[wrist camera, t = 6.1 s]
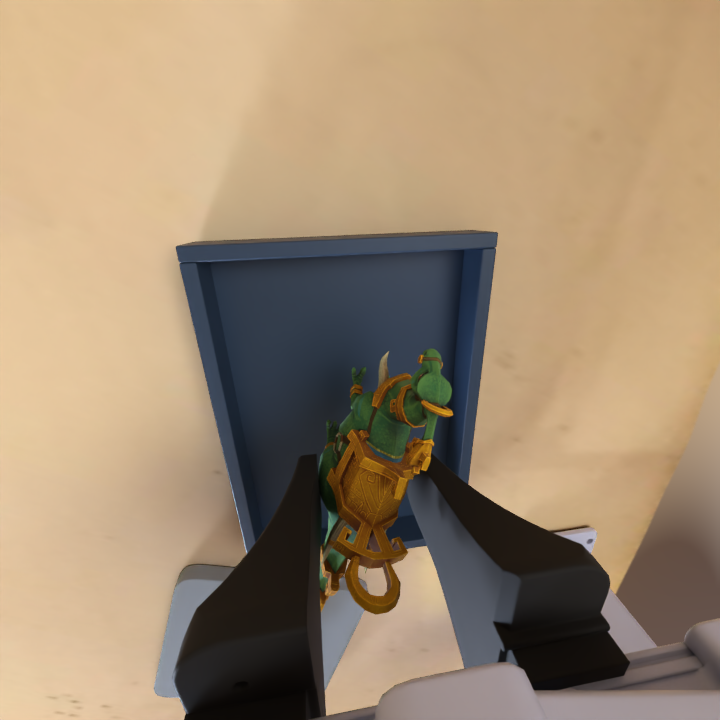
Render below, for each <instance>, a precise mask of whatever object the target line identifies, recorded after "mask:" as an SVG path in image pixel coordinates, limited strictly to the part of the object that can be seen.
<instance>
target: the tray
mask: <svg viewBox="0 0 720 720" xmlns="http://www.w3.org/2000/svg"><path fill="white" fill-rule="evenodd" d="M497 237H498V233H497V232H488V231H476V230H464V231H440V232H416V233H392V234H368V235H344V236H320V237H296V238H272V239H248V240H224V241H200V242H192V243H188V244H183V245H179V246H176V251H177V255H178V260H179V262H180V269H181V274H182V278H183V282H184V286H185V291H186V295H187V299H188V304H189V308H190V312H191V317H192V321H193V325H194V329H195V334H196V338H197V342H198V347H199V351H200V355H201V359H202V364H203V368H204V372H205V377H206V381H207V385H208V390H209V394H210V398H211V402H212V407H213V411H214V415H215V420H216V424H217V428H218V433H219V437H220V441H221V445H222V450H223V454H224V458H225V463H226V467H227V471H228V475H229V480H230V484H231V488H232V493H233V497H234V501H235V506H236V510H237V514H238V518H239V523H240V527H241V531H242V536H243V540H244V544H245V549H246V553H248V552H249V551H250V549H251V548H252V547H253V545H254V544H255V542H256V541H257V540H258V538H259V537H260V536H261V534H262V533H263V531H264V530H265V528H266V526H267V525H268V523H269V522H270V520H271V518H272V517H273V515H274V513H275V512H276V510H277V508H278V506H279V504H280V502H281V500H282V499H283V497H284V495H285V493H286V490H287V488H288V486H289V484H290V482H291V479H292V477H293V474H294V472H295V469H296V466H297V462H298V458H299V457H300V456H302V455H310V454H317V464H318V473H319V465H320V456H321V454H322V453H323V451H324V450H325V446H326V445H327V425H326V424H327V420H330V421H331V424H330V428H331V427H332V424H333V422H334V421H337V427H336V429H337V428H338V427H339V425H340V424H341V423H342V422H343V421H344V420H345V419H346V417H347V416H348V415H349V414H350V413H351V411H352V410H351V399H350V394H351V392H350V389H351V387H352V386H353V379H352V368H353V367H354V368H355V369H356V375H358V374H359V373H360V370H361V369H362V368H363V367H366V372H365V375H364V376H363V379H362V382H361V386H362V387H363V390H362V393H363V394H364V393H366V392H369V391H372V392H375V391H376V390H377V388H378V382H379V365H380V361H381V359H382V357H383V356H384V355H385V354H386V353H387V352H388V351H389V353H388V357H387V367H388V373H389V376H390V378H392V377H394V376H397V375H400V374H403V373H408V374H409V375H410V376H411V377H412V376H413V375H414V374H415V373H416V372H417V371H418V370H419V369H420V368H421V367H422V363H421V364H419V363H418V358H419V356H420V355H422V354H423V352H424V351H425V350H428V349H435V350H437V351H438V353H439V354H440V356H441V361H442V363H443V366H442V368H441V369H440V371H441V375H442V376H443V377H444V378H445V379H446V380H447V381H448V382H449V383H450V386H451V388H452V394H451V397H450V400H449V401H448V402H447V403H446V405H445V407H447V408H449V409H451V410H452V412H453V415H452V416H450V417H443V416H440V415H438V418H437V421H436V426H435V431H434V436H433V442H434V446H432V451H431V453H432V454H433V455H434V456H435V457H437V458H438V459H439V460H440V461H441V462H442V463H443V464H444V465H445V466H446V467H448V468H449V469H450V470H451V471H452V472H453V473H455V474H456V475H457V476H458V477H459V478H461V479H462V480H463V481H464V482H466V483H467V484H468V480H469V472H470V463H471V455H472V446H473V438H474V430H475V421H476V413H477V404H478V396H479V388H480V379H481V371H482V363H483V354H484V346H485V337H486V329H487V321H488V312H489V304H490V295H491V287H492V279H493V270H494V262H495V253H496V249H495V247H496V245H497ZM426 426H427V423H426V424H425V426H424V427H415V428H413V427H412V430H411V432H410V437H409V441H408V442H409V443H411V442H412V440H413V438H414V437H415V438H419V439H422V437H423V435H424V432H425V429H426ZM321 510H322V531H321V545H322V544H324V542H325V539H326V535H327V531H328V520H329V513H328V511H327V509H326V507H325V505H324V503H323V501H322V498H321ZM385 534H386V536H387V538H388V540H389V542H391V541H392V539H394V538H397V537H400V539H401V540H402V542H403V544H404V546H405V548H406V549H408V548H415V547H421V546H427V544H426V542H425V540H424V537H423V535H422V532H421V530H420V527H419V525H418V523H417V520H416V518H415V515H414V513H413V510H412V508H411V505H410V501H409V498H408V494H407V491H406V493H405V496H404V498H403V500H402V502H401V504H400V506H399V508H398V517H397V519H396V521H395V522H394V524H393V525H392V526H391V527H389V528H388V529H387V530H386V533H385ZM368 544H369V543H368ZM368 544H367V547H368ZM367 547H366V549H367Z"/></svg>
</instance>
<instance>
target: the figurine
mask: <svg viewBox="0 0 720 720" xmlns="http://www.w3.org/2000/svg"><path fill="white" fill-rule="evenodd" d="M388 353H389V351H388V352H387V353H386V354H385V355H384V356H383V357H382V359H381V361H380V365H379V382H378V388H377V390H376V391H375V392H372V391H369V392H366V393H364V394H363V393H362V390H363V387H362V386H361V382H362V379H363V376H364V375H365V372H366V367H363V368H362V369H361V370H360V373H359V374H358V375H356V369H355V368H354V367H353V368H352V379H353V386H352V387H351V389H350V392H351V394H350V399H351V410H352V411H351V413H350V414H349V415H348V416H347V417H346V419H345V420H344V421H343V422H342V423H341V424H340V425H339V427H338V428H337V429H336V427H337V421H334V422H333V424H332V427H331V428H330V424H331V421H330V420H327V424H326V425H327V445H326V446H325V450H324V451H323V453H322V454H321V456H320V465H319V489H320V495H321V498H322V501H323V503H324V505H325V507H326V509H327V511H328V513H329V520H328V531H327V535H326V539H325V542H324V544H322V545H321V556H320V607H321V611H322V610H323V607H324V605H325V602H326V600H328V598H329V596H333V595H335V594H336V593H337V592H338V590H339V588H340V584H339V579H340V578H341V577H342V576H343V575H344V574H345V579H346V584H347V588H348V590H349V592H350V594H351V596H352V598H353V600H354V601H355V602H356V603H357V604H358V605H360V606H361V607H362V608H363V609H364V610H366V611H368V612H371V613H374V614H381V613H387V612H389V611H390V610H391V609H393V608H394V607H395V606H396V604H397V602H398V599H399V596H400V581H399V579H398V577H397V575H396V574H395V572H394V570H393V568H392V566H391V565H392V564H394V563H396V562H398V561H401V560H403V559H404V557H405V556H406V555H407V554H408V551H407V549H406V548H405V546H404V544H403V542H402V540H401V539H400V537H397V538H394V539H392V541H391V542H389V540H388V538H387V536H386V534H385V533H386V530H387V529H388V528H389V527H391V526H392V525H393V524H394V522H395V521H396V519H397V517H398V508H399V506H400V504H401V502H402V500H403V498H404V496H405V493H406V490H407V486H408V483H409V479H413V477H414V475H417V474H419V470H420V469H421V470H424V471H426V470H427V468H428V466H429V464H430V460H431V451H432V446H434V442H433V436H434V431H435V426H436V421H437V418H438V415H440V416H443V417H450V416H452V415H453V412H452V410H451V409H449V408H447V407H445V405H446V403H447V402H448V401H449V400H450V397H451V394H452V388H451V386H450V383H449V382H448V381H447V380H446V379H445V378H444V377H443V376H442V375H441V371H440V369H441V368H442V366H443V363H442V361H441V356H440V354H439V353H438V351H437V350H435V349H428V350H425V351H424V352H423V354H422V355H420V356H419V358H418V363H419V364H421V363H422V367H421V368H420V369H419V370H418V371H417V372H416V373H415V374H414V375H413V376H412V377H411V376H410V375H409V374H408V373H403V374H400V375H397V376H394V377H392V378H390V376H389V373H388V367H387V357H388ZM426 423H427V426H426V429H425V432H424V435H423V437H422V439H419V438H415V437H414V438H413V440H412V442H411V443H409V442H408V441H409V437H410V432H411V430H412V427H413V428H415V427H424V426H425V424H426ZM368 543H369V544H368ZM367 544H368V547H367ZM366 547H367V549H366ZM347 559H349V560H351V561H350V563H349V565H348V568H347V570H346V565H347ZM359 565H361V566H364V567H365V573H366V570H367V568H369V569H370V568H381V567H383V569H384V573H385V577H386V581H387V592H386V593H385V595H384V596H373V595H370V594H369V593H368V592H367V591H366V590H365V589H364V588H363V587H362V585H361V584H360V582H359V579H358V567H359ZM345 570H346V572H345Z"/></svg>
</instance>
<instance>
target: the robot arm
mask: <svg viewBox="0 0 720 720" xmlns="http://www.w3.org/2000/svg"><path fill="white" fill-rule="evenodd" d="M406 491H407V494H408V498H409V501H410V505H411V508H412V510H413V513H414V515H415V518H416V520H417V523H418V525H419V527H420V530H421V532H422V535H423V537H424V540H425V542H426V544H427V547H428V549H429V552H430V554H431V556H432V559H433V562H434V565H435V567H436V570H437V573H438V577H439V580H440V583H441V586H442V590H443V593H444V596H445V600H446V603H447V607H448V610H449V613H450V617H451V620H452V624H453V627H454V631H455V635H456V638H457V642H458V645H459V649H460V653H461V656H462V660H463V664H464V668H465V669H460V670H455V671H450V672H445V673H440V674H435V675H430V676H425V677H420V678H415V679H411V680H408V681H406V682H403V683H400V684H397V685H395V686H393V687H392V688H391V689H389V690H388V691H387V692H386V693H384V694H383V695H382V697H381V699H380V701H379V703H378V705H377V706H372V707H367V708H362V709H357V710H353V711H348V712H343V713H338V714H333V715H329V716H326V708H325V689H324V670H323V650H322V629H321V607H320V556H321V531H322V510H321V495H320V489H319V473H318V464H317V454H310V455H302V456H300V457H299V458H298V462H297V466H296V469H295V472H294V474H293V477H292V479H291V482H290V484H289V486H288V488H287V490H286V493H285V495H284V497H283V499H282V500H281V502H280V504H279V506H278V508H277V510H276V512H275V513H274V515H273V517H272V518H271V520H270V522H269V523H268V525H267V526H266V528H265V530H264V531H263V533H262V534H261V536H260V537H259V538H258V540H257V541H256V542H255V544H254V545H253V547H252V548H251V549H250V551H249V552H248V553H247V554H246V556H245V557H244V558H243V559H242V561H241V562H240V563H239V564H238V565H237V566H236V568H235V569H234V570H233V571H232V572H231V573H230V574H229V576H228V577H227V578H226V579H225V580H224V581H223V582H222V583H221V584H220V585H219V586H218V587H217V588H216V589H215V590H214V591H213V592H212V593H211V594H210V595H209V596H208V597H207V598H206V599H205V600H204V601H203V602H202V603H201V604H200V605H199V606H198V607H197V608H196V610H195V612H194V615H193V617H192V619H191V621H190V623H189V626H188V628H187V631H186V633H185V636H184V638H183V641H182V644H181V647H180V651H179V654H178V658H177V661H176V665H175V669H174V672H173V676H172V679H173V684H174V687H175V690H176V692H177V694H178V696H179V698H180V701H181V703H182V705H183V707H184V709H185V712H186V715H185V719H184V720H720V618H719V619H714V620H709V621H704V622H700V623H697V624H695V625H694V626H692V627H691V628H690V629H689V630H688V632H687V633H686V635H685V638H684V642H680V643H675V644H670V645H666V646H661V647H657V645H656V644H655V643H654V642H653V641H652V639H651V638H650V637H649V636H648V634H647V633H646V632H645V631H644V630H643V628H642V627H641V626H640V625H639V623H638V622H637V621H636V620H635V618H634V617H633V616H632V615H631V614H630V612H629V611H628V610H627V609H626V607H625V606H624V605H623V604H622V603H621V601H620V600H619V599H618V598H617V596H616V595H615V594H614V593H613V591H612V590H611V589H610V588H609V587H610V579H609V575H608V574H607V573H606V572H605V570H604V569H603V568H602V567H601V565H600V564H599V563H598V562H597V561H596V559H595V558H594V557H593V556H592V555H591V552H592V549H593V546H594V543H595V540H596V537H597V532H596V531H595V530H594V529H593V528H592V527H588V528H582V529H575V530H569V531H562V532H556V533H552V532H550V531H547V530H545V529H543V528H541V527H539V526H537V525H535V524H532V523H530V522H528V521H526V520H524V519H522V518H520V517H519V516H517V515H515V514H513V513H511V512H510V511H508V510H506V509H504V508H502V507H501V506H499V505H497V504H496V503H494V502H493V501H491V500H490V499H488V498H487V497H485V496H484V495H482V494H480V493H479V492H478V491H476V490H475V489H473V488H472V487H471V486H469V485H468V484H467V483H466V482H464V481H463V480H462V479H461V478H459V477H458V476H457V475H456V474H455V473H453V472H452V471H451V470H450V469H449V468H448V467H446V466H445V465H444V464H443V463H442V462H441V461H440V460H439V459H438V458H437V457H435V456H434V455H433V454H432V453H431V460H430V464H429V466H428V468H427V470H426V471H424V470H421V469H420V470H419V474H417V475H414V477H413V479H409V483H408V486H407V490H406Z"/></svg>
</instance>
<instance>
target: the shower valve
mask: <svg viewBox="0 0 720 720" xmlns="http://www.w3.org/2000/svg"><path fill="white" fill-rule="evenodd" d="M234 569H235V568H234V567H223V566H212V565H191V566H188V567H186V568H184V569H183V570H182V572H181V573H180V575H179V578H178V581H177V584H176V587H175V589H174V594H173V599H172V604H171V608H170V613H169V618H168V623H167V628H166V633H165V637H164V642H163V647H162V652H161V657H160V662H159V666H158V671H157V676H156V681H155V686H154V691H155V693H156V694H157V695H158V696H161V697H169V698H179V696H178V694H177V692H176V690H175V687H174V684H173V679H172V676H173V672H174V669H175V665H176V661H177V658H178V654H179V651H180V647H181V644H182V641H183V638H184V636H185V633H186V631H187V628H188V626H189V623H190V621H191V619H192V617H193V615H194V612H195V610H196V608H197V607H198V606H199V605H200V604H201V603H202V602H203V601H204V600H205V599H206V598H207V597H208V596H209V595H210V594H211V593H212V592H213V591H214V590H215V589H216V588H217V587H218V586H219V585H220V584H221V583H222V582H223V581H224V580H225V579H226V578H227V577H228V576H229V574H230V573H231V572H232V571H233V570H234ZM359 582H360V584H361V585H362V587H363V588H364V589H365V590H366V591H367V585H366V583H365V582H364V581H363V580H361V579H359ZM339 584H340V588H339V590H338V592H337V593H336V594H335V595H333V596H329V598H328V600H326V602H325V605H324V607H323V610H322V611H321V629H322V650H323V670H324V689H326V688H327V686H328V683H329V681H330V679H331V677H332V675H333V673H334V671H335V669H336V667H337V665H338V663H339V661H340V659H341V657H342V655H343V653H344V651H345V649H346V647H347V645H348V643H349V641H350V639H351V637H352V635H353V633H354V631H355V629H356V626H357V624H358V622H359V620H360V618H361V616H362V614H363V612H364V609H363V608H362V607H361V606H360V605H358V604H357V603H356V602H355V601H354V600H353V598H352V596H351V594H350V592H349V590H348V588H347V584H346V579H345V577H341V578H340V579H339ZM367 592H368V591H367Z"/></svg>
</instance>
